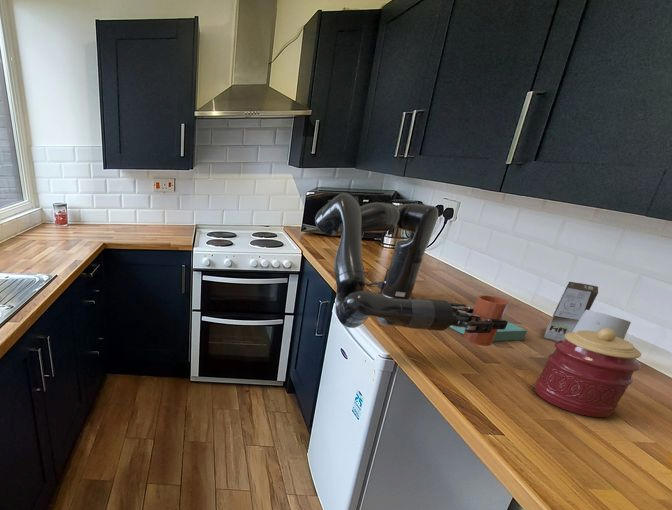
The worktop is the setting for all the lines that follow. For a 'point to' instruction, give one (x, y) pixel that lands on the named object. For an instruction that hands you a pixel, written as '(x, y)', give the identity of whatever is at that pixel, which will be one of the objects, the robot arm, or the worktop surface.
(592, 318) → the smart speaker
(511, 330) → the tray
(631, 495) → the worktop surface
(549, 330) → the coffee box
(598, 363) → the kitchen canister
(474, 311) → the tumbler
